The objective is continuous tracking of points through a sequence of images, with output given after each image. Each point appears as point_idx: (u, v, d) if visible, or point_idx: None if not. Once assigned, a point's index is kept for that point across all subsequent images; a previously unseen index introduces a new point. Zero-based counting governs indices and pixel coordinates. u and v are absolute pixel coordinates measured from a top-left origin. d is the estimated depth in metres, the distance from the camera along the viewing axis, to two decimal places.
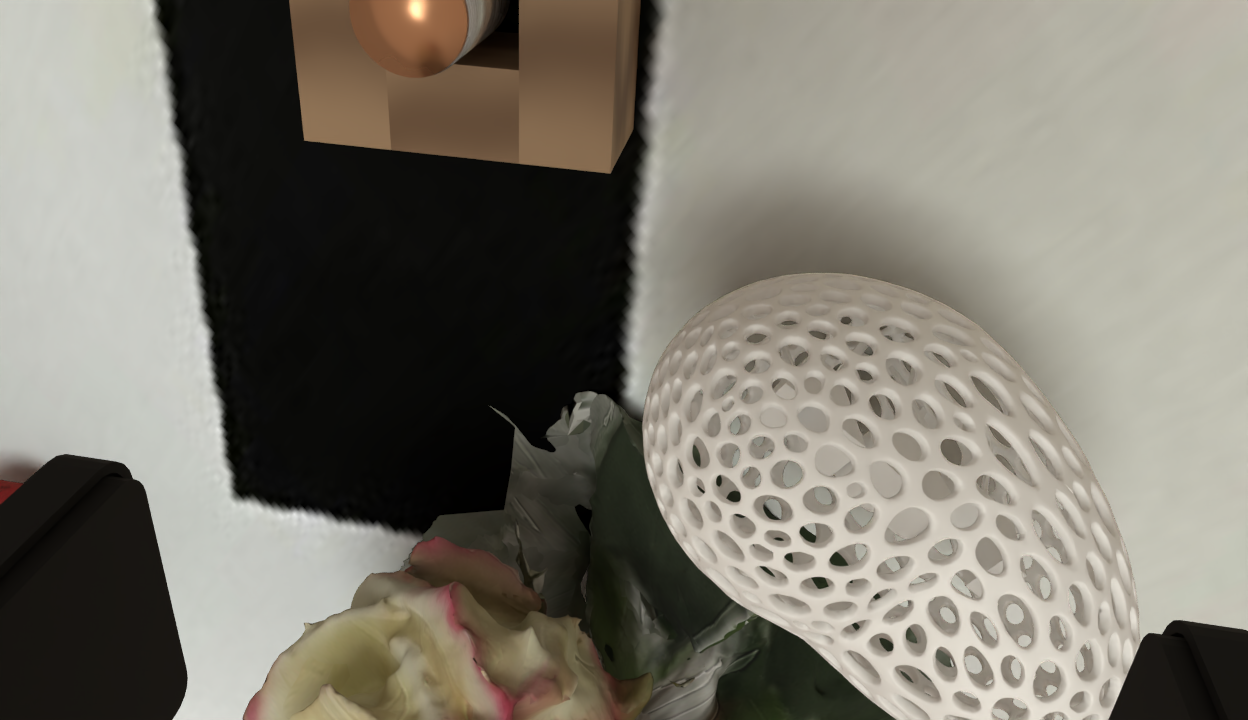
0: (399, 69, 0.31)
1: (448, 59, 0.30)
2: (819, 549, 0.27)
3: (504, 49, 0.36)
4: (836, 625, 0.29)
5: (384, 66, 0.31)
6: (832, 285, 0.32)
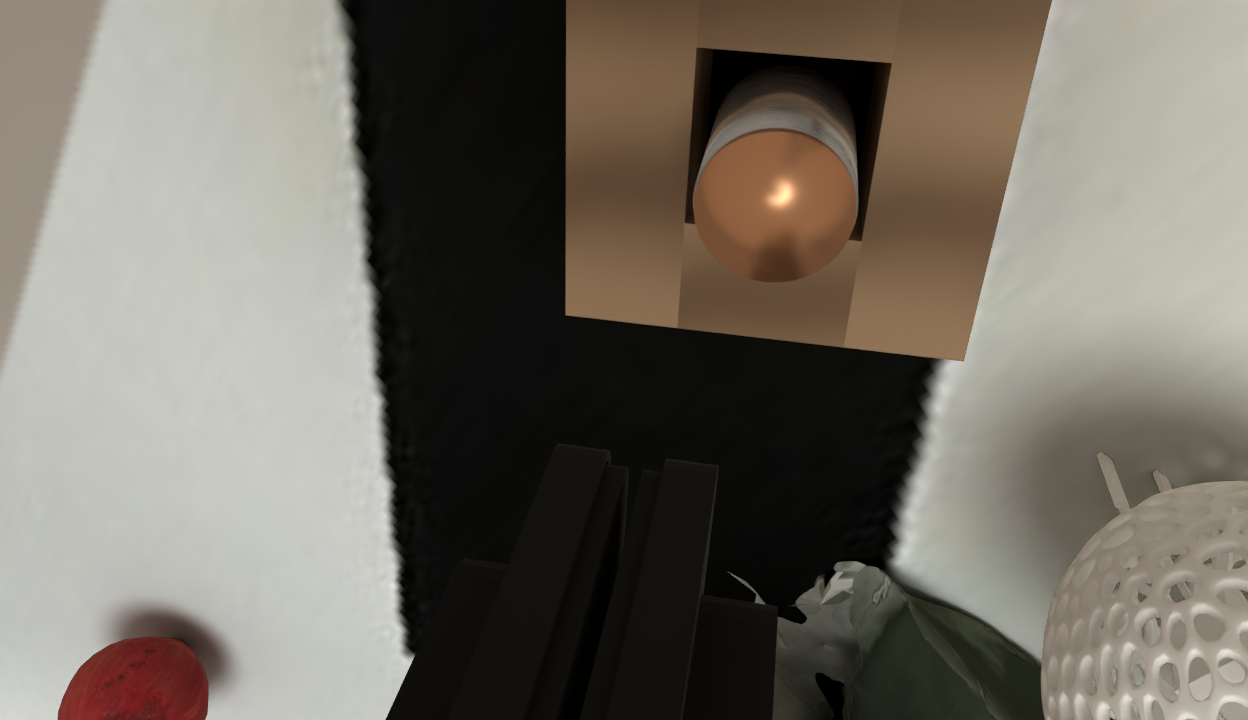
0: (752, 272, 0.23)
1: (822, 262, 0.23)
2: None
3: None
4: None
5: (731, 267, 0.23)
6: None
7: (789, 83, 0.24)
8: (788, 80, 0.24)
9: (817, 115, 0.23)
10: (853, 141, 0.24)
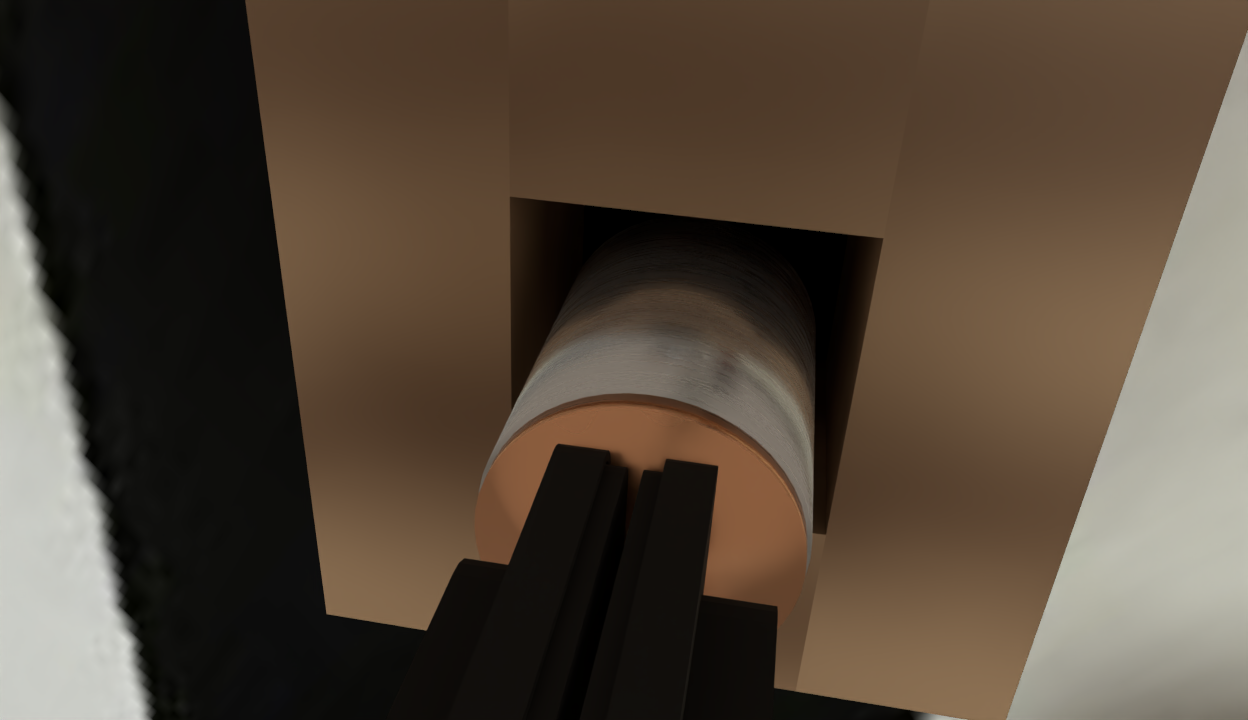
0: None
1: None
2: None
3: None
4: None
5: None
6: None
7: (686, 262, 0.13)
8: (686, 252, 0.13)
9: (731, 347, 0.11)
10: (807, 379, 0.12)
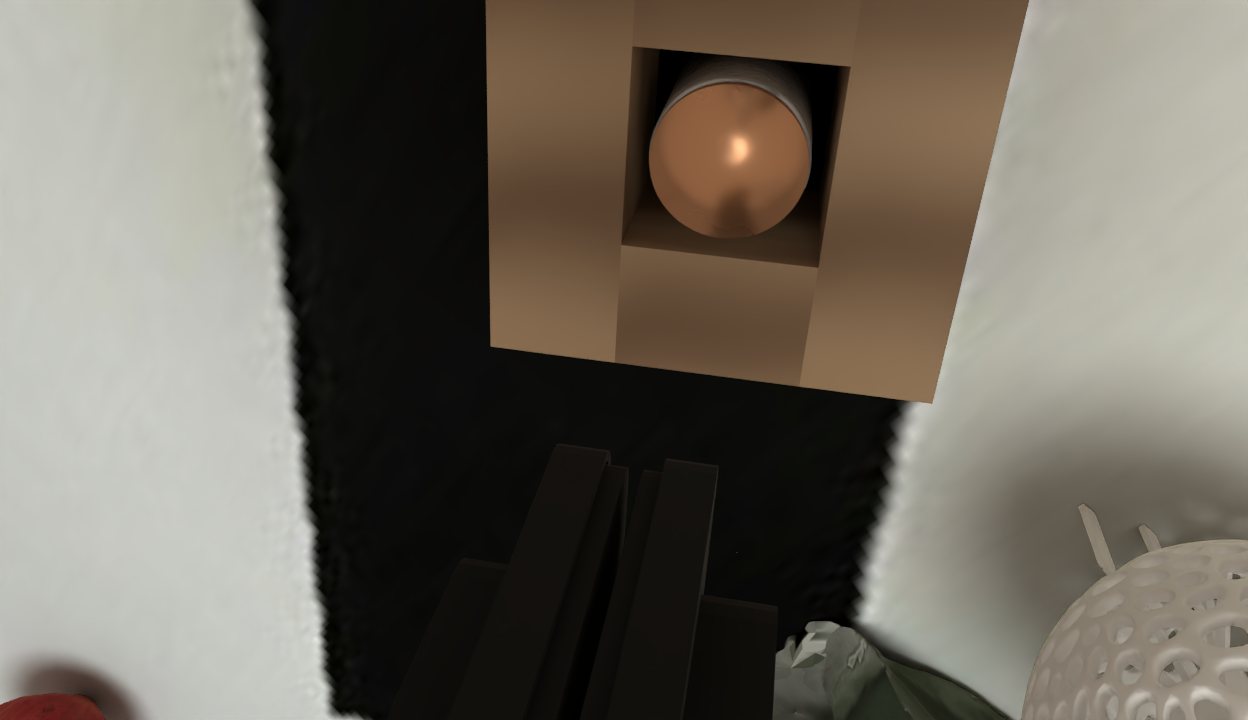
0: (707, 228, 0.23)
1: (776, 217, 0.23)
2: None
3: None
4: None
5: (686, 223, 0.24)
6: None
7: None
8: None
9: (772, 73, 0.23)
10: (808, 103, 0.24)
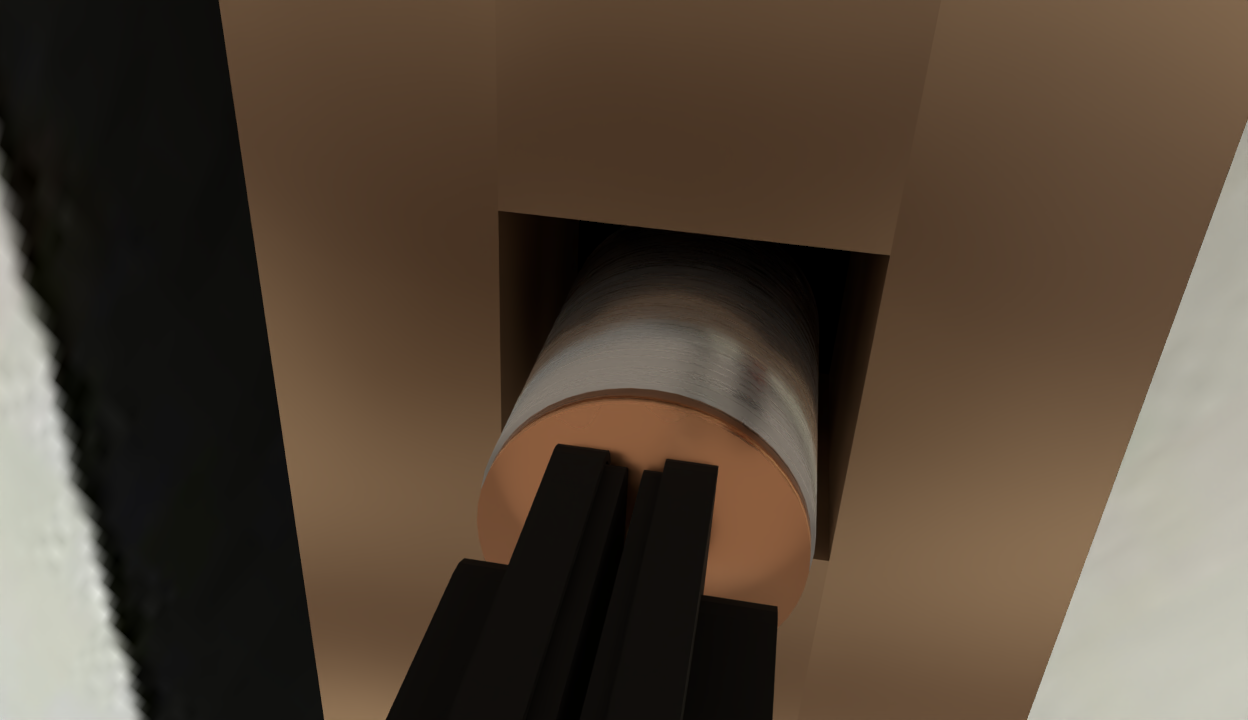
0: None
1: None
2: None
3: None
4: None
5: None
6: None
7: None
8: None
9: None
10: None
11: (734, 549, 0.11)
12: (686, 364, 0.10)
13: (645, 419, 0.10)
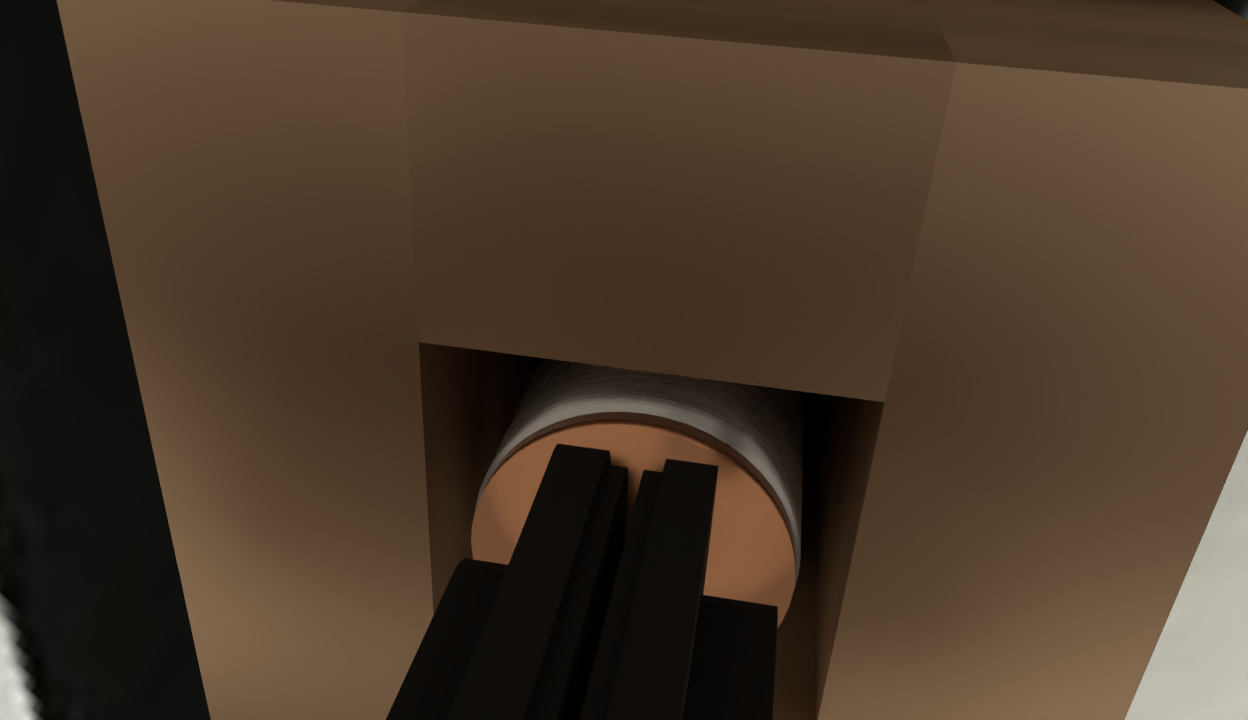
0: None
1: None
2: None
3: None
4: None
5: None
6: None
7: None
8: None
9: None
10: None
11: (721, 568, 0.11)
12: (674, 388, 0.11)
13: (634, 442, 0.10)
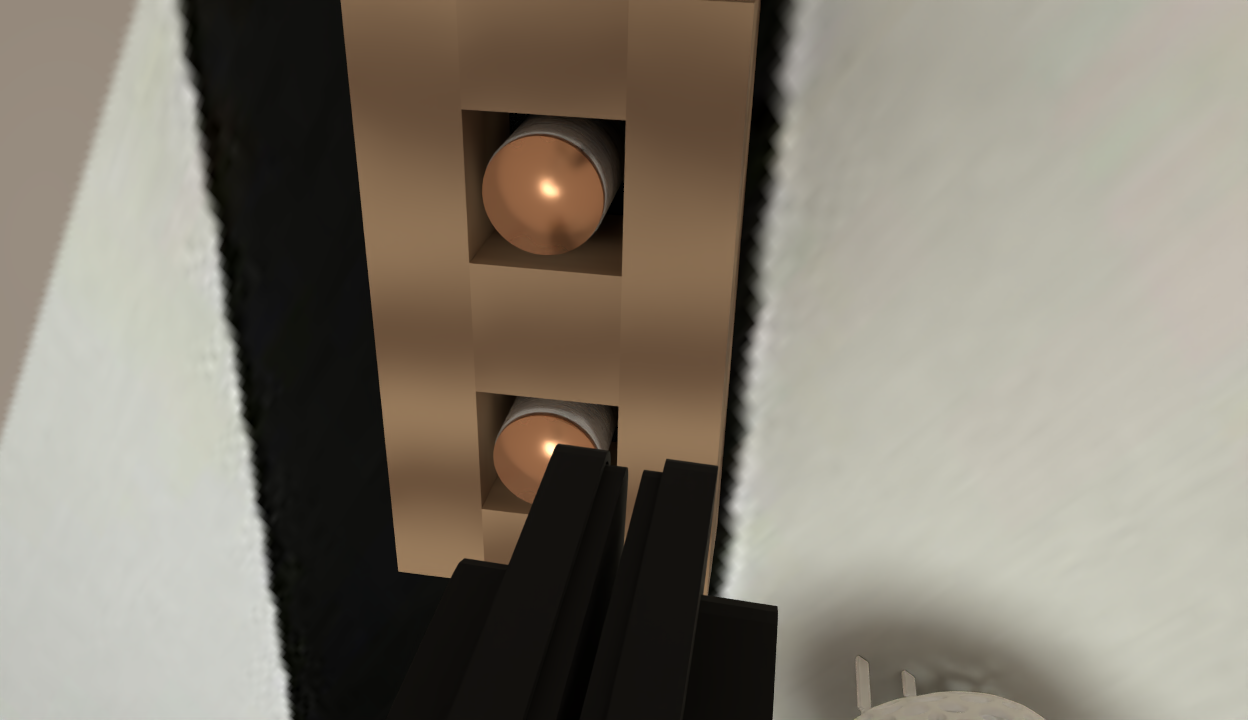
0: None
1: None
2: None
3: None
4: None
5: (522, 498, 0.34)
6: None
7: None
8: None
9: None
10: (609, 407, 0.35)
11: (575, 195, 0.29)
12: (556, 128, 0.29)
13: (539, 142, 0.28)
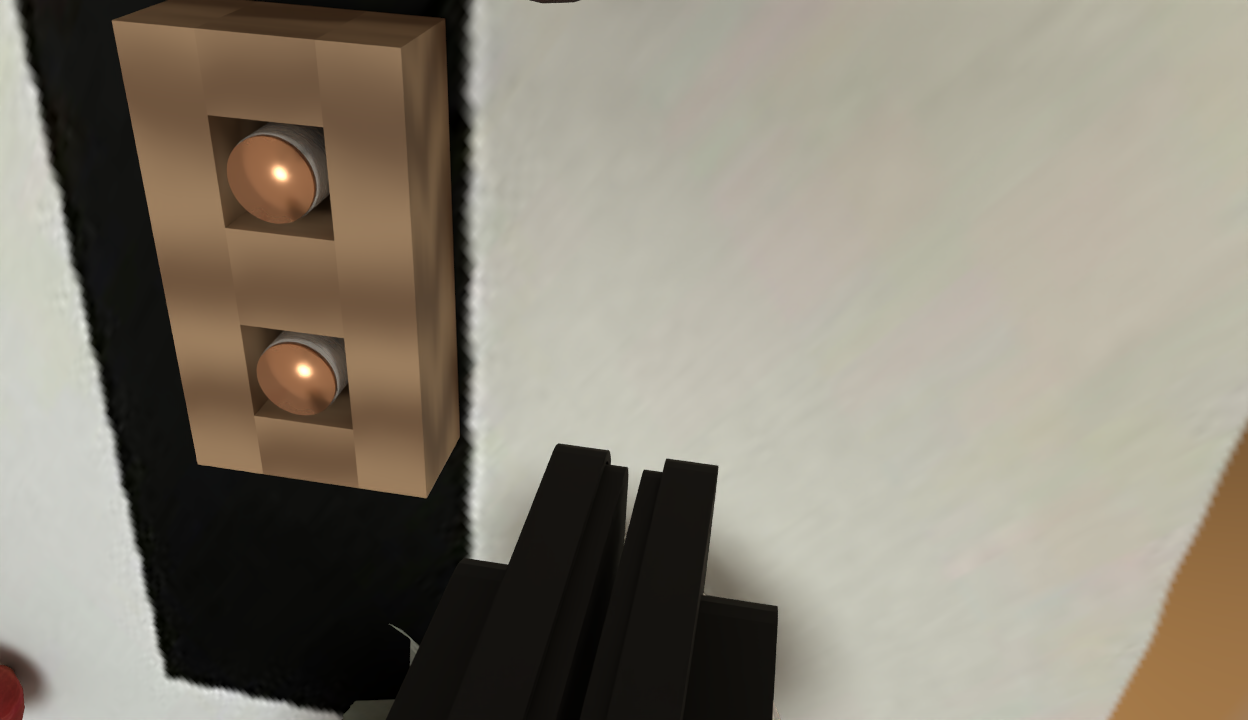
0: (292, 410, 0.45)
1: (324, 406, 0.45)
2: None
3: (349, 396, 0.48)
4: None
5: (282, 407, 0.45)
6: None
7: None
8: None
9: None
10: None
11: (293, 180, 0.40)
12: (279, 130, 0.39)
13: (263, 141, 0.39)
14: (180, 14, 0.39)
